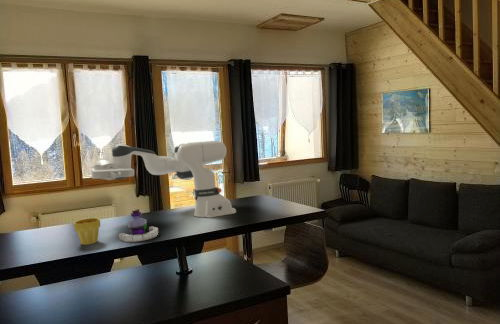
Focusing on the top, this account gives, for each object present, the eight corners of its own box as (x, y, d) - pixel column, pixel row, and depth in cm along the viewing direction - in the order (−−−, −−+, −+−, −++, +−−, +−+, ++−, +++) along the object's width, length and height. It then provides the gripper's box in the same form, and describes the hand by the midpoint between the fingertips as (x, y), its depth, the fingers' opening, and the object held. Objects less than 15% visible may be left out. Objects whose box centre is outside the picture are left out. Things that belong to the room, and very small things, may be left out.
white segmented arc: (119, 239, 176) (119, 234, 176) (153, 231, 186) (152, 226, 186) (129, 244, 167) (129, 238, 167) (164, 235, 178) (164, 229, 177)
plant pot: (87, 247, 168) (84, 224, 167) (71, 245, 173) (68, 222, 172) (107, 240, 177) (104, 218, 176) (91, 238, 182) (88, 217, 181)
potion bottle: (148, 236, 177) (145, 210, 176) (128, 239, 175) (125, 212, 174) (147, 232, 185) (145, 206, 184) (128, 235, 183) (125, 209, 182)
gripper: (129, 175, 212) (138, 180, 201) (88, 178, 200) (96, 183, 189) (129, 164, 211) (138, 168, 200) (88, 165, 199) (96, 170, 188)
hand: (117, 175), depth 194 cm, fingers closed
